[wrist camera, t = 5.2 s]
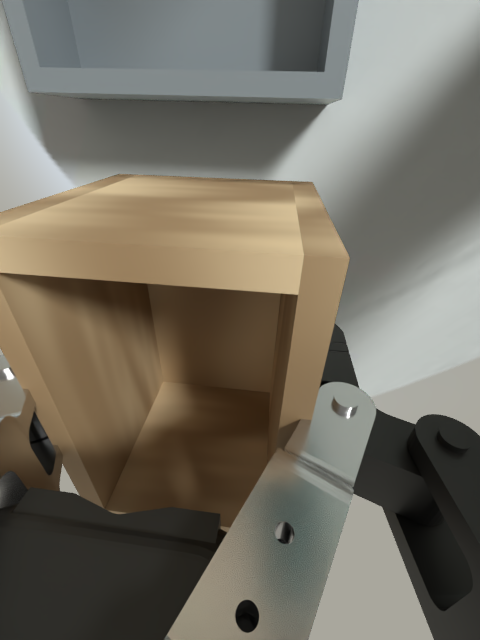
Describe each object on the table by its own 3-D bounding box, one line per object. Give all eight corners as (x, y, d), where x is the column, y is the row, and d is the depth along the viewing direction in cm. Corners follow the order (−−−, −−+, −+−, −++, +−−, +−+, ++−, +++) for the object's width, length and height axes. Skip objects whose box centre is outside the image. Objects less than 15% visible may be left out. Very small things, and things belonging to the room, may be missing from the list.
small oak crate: (312, 182, 9) (350, 258, 4) (282, 393, 14) (282, 544, 9) (119, 174, 9) (-62, 232, 4) (156, 380, 14) (90, 516, 9)
